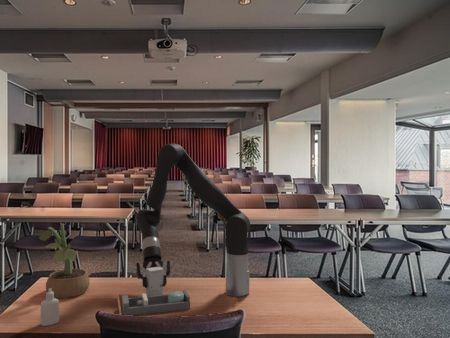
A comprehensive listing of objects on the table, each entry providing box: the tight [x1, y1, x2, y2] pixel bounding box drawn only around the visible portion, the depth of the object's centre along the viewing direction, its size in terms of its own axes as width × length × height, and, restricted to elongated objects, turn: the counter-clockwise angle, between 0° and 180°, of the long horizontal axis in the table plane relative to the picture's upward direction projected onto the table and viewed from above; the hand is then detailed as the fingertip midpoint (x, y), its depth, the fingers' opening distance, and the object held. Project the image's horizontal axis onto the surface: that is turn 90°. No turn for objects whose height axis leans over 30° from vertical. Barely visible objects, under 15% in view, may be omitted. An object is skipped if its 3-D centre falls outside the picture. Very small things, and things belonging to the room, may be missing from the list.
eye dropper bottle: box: [40, 288, 60, 327], centre depth 130 cm, size 4×6×12 cm
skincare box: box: [145, 267, 165, 296], centre depth 154 cm, size 6×4×12 cm
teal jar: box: [167, 291, 184, 303], centre depth 146 cm, size 6×6×4 cm
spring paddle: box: [137, 292, 148, 306], centre depth 142 cm, size 3×7×4 cm, turn 18°
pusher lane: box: [121, 289, 191, 316], centre depth 144 cm, size 24×10×5 cm, turn 108°
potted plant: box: [38, 223, 91, 299], centre depth 156 cm, size 22×18×30 cm
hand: (155, 286), depth 153 cm, fingers closed on skincare box, 6 cm apart
